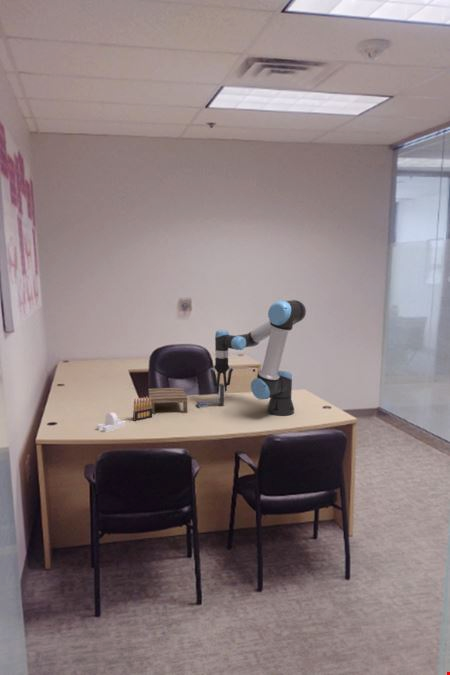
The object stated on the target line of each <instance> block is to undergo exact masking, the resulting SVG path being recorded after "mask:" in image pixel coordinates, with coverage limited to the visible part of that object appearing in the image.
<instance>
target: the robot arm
mask: <svg viewBox="0 0 450 675" xmlns="http://www.w3.org/2000/svg"><path fill="white" fill-rule="evenodd" d="M306 309H307V308H306V307H305V305H304V303H303V302H302V301H299V300H296V299H294V300H293V299H292V300H278V301H275V302H274V303H273V304H271V305H270V306H269V309H268V312H267V315H268V316H267V317H268V321H267V322H264V323H263V324H262V325H260V326H258V327H256V328H254V329H253V330H252V331H249V332H248V333H245V334H237V335H232V334H231V335H230V334H229V331H228V330H227V329H226V330H225V329H224V330H223V329H221V330H220V329H219V330H216V331H215V337H214V339H215V340H214V341H215V343H214V344H215V351H214V352H215V354H214V357H215V360H214V362H215V364H214V366H213V367H212V368H210V369H209V370H210V371H211V377H212V383H213V386H215V387H216V392H217V396H218V399H219V398H220V386H219V384H220V380H221V374H222V377H223V385H224V398H226V392H227V390H228V388H227V387H228V386H230V384H231V380H232V373H233V371H234V369H233V367H230V365H229V349H231V350H235V351H242V350H244V349H245V348H249V347H250V348H251V347H255V346H258V345H259V344H260V342H262V341H263V340H265V339H267V338H268V343H267V347H266V351H265V354H264V359H263V363H262V366H261V369H260V370H258V372H257V375H256V378H253V380H252V381H251V383H250V390H251V392H252V394H253V396H254V397H255V398H256V399H258V400H268V399H269V401H268V404H267V406H266V412H267V413H268V414H270V415H273V416H291V415H293V414H295V406H294V403H293V400H292V392H293V388H292V387H293V386H292V385H293V375H292V373H291V372H289V371H285V370H280V365H281V362H282V357H283V353H284V350H285V346H286V343H287V342H286V341H287V337H288V334H289V332H290V331H292V330H293V326H294V325H296V324H297V323H299V322H302V321H303V320H304V319H305V317H306V311H307V310H306ZM215 371H216V372H217V375H215ZM227 371H228V373H227ZM227 374H228V375H227Z"/></svg>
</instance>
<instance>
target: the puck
mask: <svg viewBox="0 0 450 675" xmlns="http://www.w3.org/2000/svg"><path fill="white" fill-rule="evenodd" d="M208 406H209V403H202V404H200V407H199V408H207V407H208Z"/></svg>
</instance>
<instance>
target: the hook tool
mask: <svg viewBox="0 0 450 675" xmlns="http://www.w3.org/2000/svg"><path fill="white" fill-rule="evenodd" d="M219 386H220V398H219V397H218V399H208V400H207V399H205V400H204V399H202V400H197V401H196V405H197V408H201V407H200V404H219V405H220V406H224V405H225V401H224V400H225V397H224V383H219Z"/></svg>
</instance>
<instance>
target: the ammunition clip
mask: <svg viewBox="0 0 450 675" xmlns="http://www.w3.org/2000/svg"><path fill="white" fill-rule="evenodd" d="M132 412H133V413H132V414H133V415H132V419H133V421H134V422H138V421H143V420H148V419H151V418H153V415H152V408H151V397H150V396H149V395H148V396H146V397H145V396H143V398H142V397H140V398H139V397H138V398H137V399H136V398H134V400H133V411H132ZM147 418H148V419H147Z"/></svg>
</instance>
